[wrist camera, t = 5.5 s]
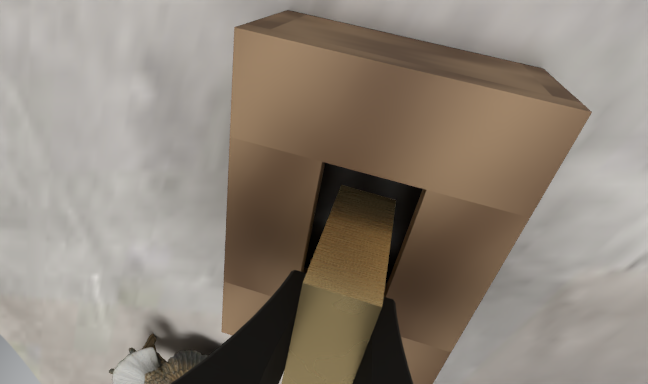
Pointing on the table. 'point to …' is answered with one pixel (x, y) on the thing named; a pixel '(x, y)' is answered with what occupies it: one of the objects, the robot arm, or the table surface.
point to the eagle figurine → (154, 365)
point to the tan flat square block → (342, 291)
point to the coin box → (387, 162)
